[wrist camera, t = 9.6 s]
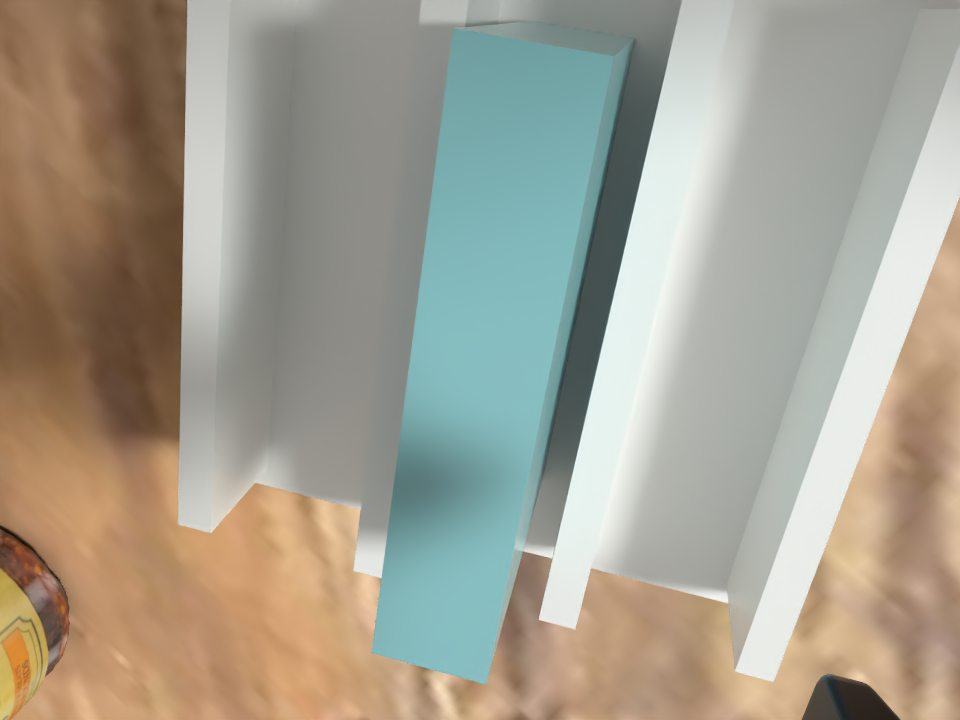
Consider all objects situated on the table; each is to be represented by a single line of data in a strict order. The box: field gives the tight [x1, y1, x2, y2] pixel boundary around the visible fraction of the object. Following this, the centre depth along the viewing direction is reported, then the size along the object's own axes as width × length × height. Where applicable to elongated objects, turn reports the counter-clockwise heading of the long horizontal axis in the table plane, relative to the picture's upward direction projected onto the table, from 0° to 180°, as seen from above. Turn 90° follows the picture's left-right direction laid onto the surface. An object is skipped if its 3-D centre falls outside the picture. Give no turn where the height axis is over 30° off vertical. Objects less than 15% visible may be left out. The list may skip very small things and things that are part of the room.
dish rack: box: [178, 0, 960, 682], centre depth 18 cm, size 14×14×4 cm
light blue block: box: [372, 21, 636, 684], centre depth 16 cm, size 2×10×7 cm, turn 171°
